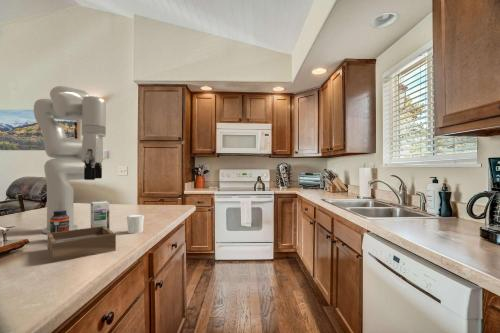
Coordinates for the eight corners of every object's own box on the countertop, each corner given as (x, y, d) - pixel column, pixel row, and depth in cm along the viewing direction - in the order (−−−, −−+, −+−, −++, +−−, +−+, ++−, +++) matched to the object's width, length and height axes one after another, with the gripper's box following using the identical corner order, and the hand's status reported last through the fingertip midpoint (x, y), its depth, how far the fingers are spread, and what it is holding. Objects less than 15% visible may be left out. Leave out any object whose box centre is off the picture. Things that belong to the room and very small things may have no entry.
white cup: (123, 233, 111) (123, 216, 111) (135, 229, 117) (135, 213, 117) (135, 234, 109) (135, 217, 109) (147, 230, 115) (147, 214, 115)
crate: (47, 249, 88) (47, 233, 88) (103, 240, 100) (104, 225, 100) (52, 262, 76) (52, 243, 76) (115, 250, 88) (115, 234, 88)
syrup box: (92, 241, 98) (92, 202, 98) (90, 238, 103) (90, 201, 103) (109, 239, 102) (109, 201, 102) (106, 235, 106) (106, 200, 106)
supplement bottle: (59, 242, 97) (59, 211, 97) (45, 241, 98) (45, 211, 98) (73, 238, 103) (73, 209, 103) (60, 237, 104) (60, 208, 104)
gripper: (88, 134, 102) (88, 177, 102) (73, 128, 85) (73, 180, 86) (110, 134, 104) (110, 177, 104) (99, 129, 88) (99, 180, 88)
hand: (93, 179), depth 95 cm, fingers open, 9 cm apart
